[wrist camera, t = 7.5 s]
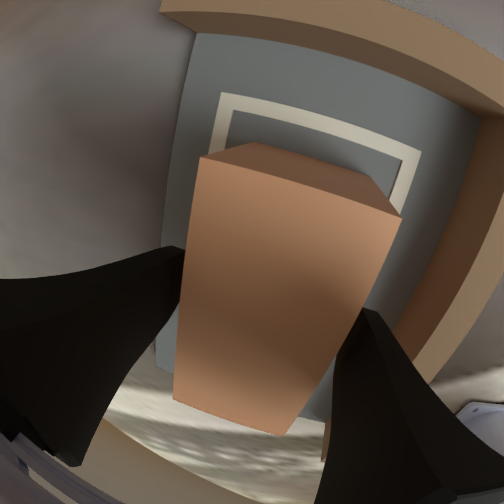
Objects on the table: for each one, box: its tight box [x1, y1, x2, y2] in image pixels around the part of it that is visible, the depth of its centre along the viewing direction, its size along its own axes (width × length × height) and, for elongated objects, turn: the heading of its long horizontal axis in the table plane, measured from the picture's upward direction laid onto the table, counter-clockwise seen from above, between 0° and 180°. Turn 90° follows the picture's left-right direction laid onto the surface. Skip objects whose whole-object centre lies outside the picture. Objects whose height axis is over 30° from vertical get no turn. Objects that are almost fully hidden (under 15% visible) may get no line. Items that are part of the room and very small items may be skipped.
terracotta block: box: [173, 142, 402, 437], centre depth 10 cm, size 9×4×5 cm, turn 168°
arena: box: [156, 0, 504, 462], centre depth 11 cm, size 13×20×4 cm, turn 168°
